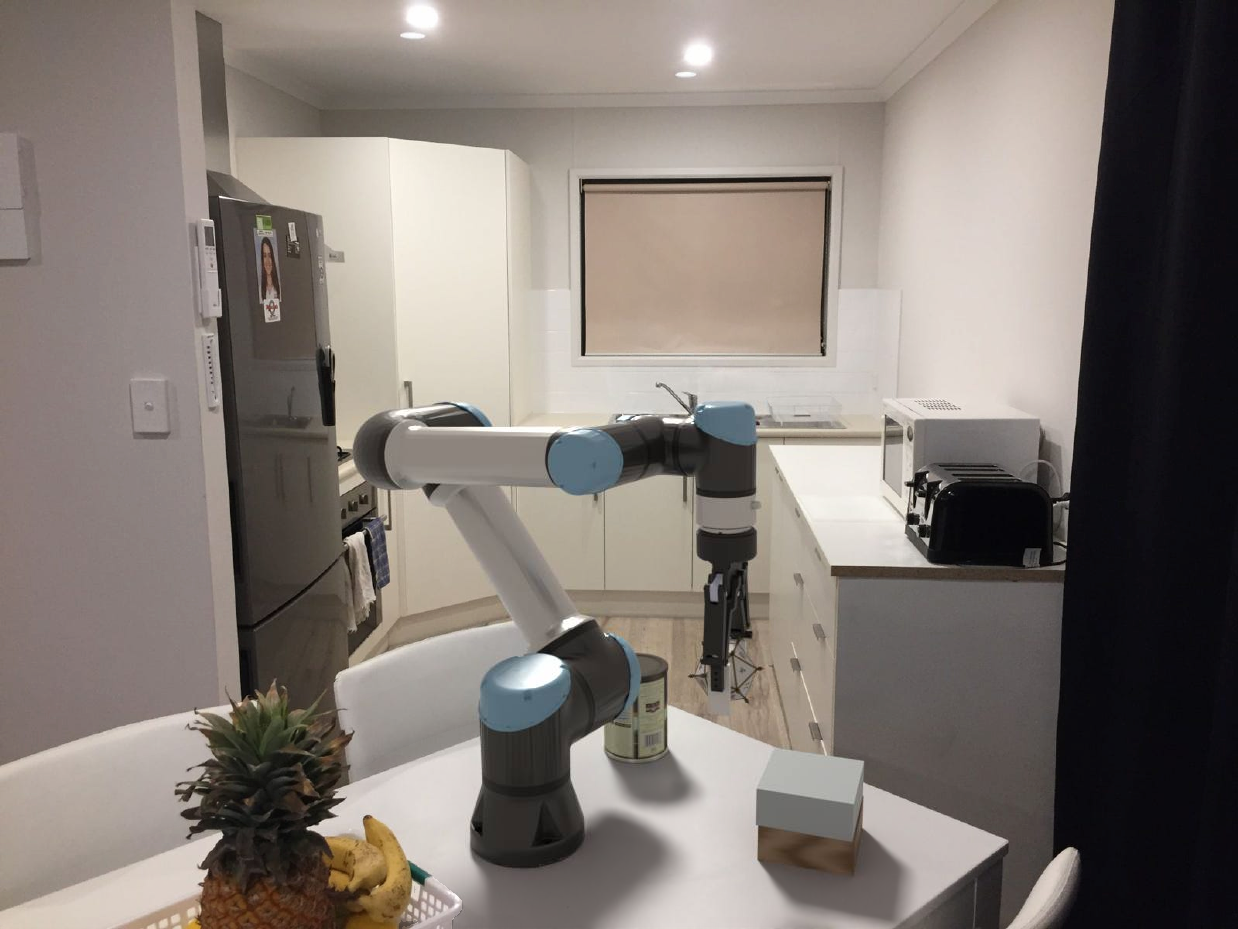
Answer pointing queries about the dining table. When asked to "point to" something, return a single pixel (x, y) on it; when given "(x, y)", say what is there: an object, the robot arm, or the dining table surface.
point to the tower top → (810, 794)
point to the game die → (732, 672)
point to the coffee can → (642, 717)
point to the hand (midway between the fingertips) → (727, 700)
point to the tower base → (810, 849)
